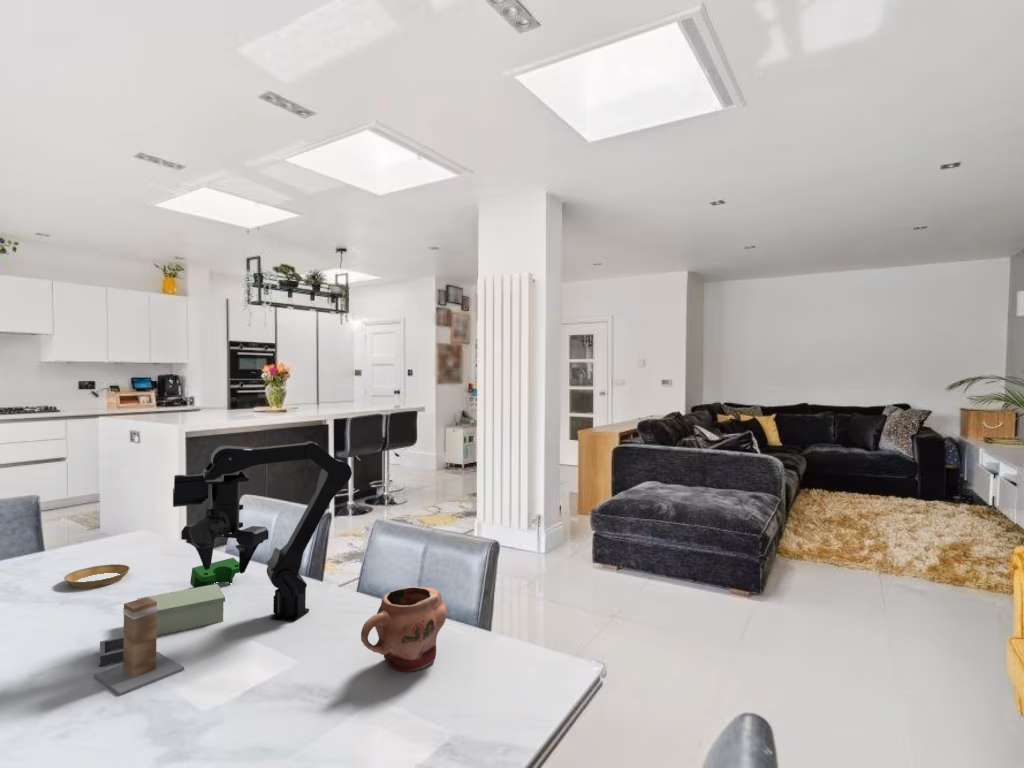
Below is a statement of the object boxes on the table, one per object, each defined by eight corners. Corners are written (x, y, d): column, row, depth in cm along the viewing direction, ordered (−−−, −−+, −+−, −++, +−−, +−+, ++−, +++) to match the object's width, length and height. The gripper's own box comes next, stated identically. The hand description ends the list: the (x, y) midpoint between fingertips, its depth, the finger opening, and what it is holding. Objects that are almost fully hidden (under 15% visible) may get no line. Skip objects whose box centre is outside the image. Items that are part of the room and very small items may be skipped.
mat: (157, 653, 115) (157, 651, 115) (184, 669, 109) (184, 667, 109) (94, 677, 106) (94, 674, 106) (119, 695, 99) (119, 692, 99)
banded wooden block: (146, 663, 110) (147, 596, 110) (156, 669, 108) (157, 601, 108) (122, 671, 107) (123, 603, 107) (132, 678, 104) (133, 608, 104)
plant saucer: (73, 576, 159) (73, 567, 159) (135, 570, 165) (135, 561, 165) (55, 594, 146) (55, 584, 146) (123, 587, 152) (123, 577, 152)
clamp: (206, 606, 150) (196, 582, 145) (195, 596, 153) (185, 571, 149) (248, 579, 158) (240, 554, 154) (237, 569, 161) (229, 545, 157)
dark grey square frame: (143, 641, 120) (143, 632, 120) (146, 655, 114) (146, 646, 114) (99, 651, 115) (99, 641, 115) (99, 666, 109) (99, 656, 109)
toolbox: (217, 606, 139) (217, 583, 139) (224, 621, 131) (225, 597, 130) (136, 622, 129) (136, 598, 129) (138, 640, 121) (139, 614, 121)
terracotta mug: (386, 697, 100) (387, 619, 100) (343, 675, 107) (344, 602, 107) (461, 654, 116) (461, 587, 116) (419, 637, 123) (420, 574, 123)
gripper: (161, 507, 121) (160, 579, 121) (236, 512, 117) (235, 587, 117) (200, 497, 132) (199, 563, 132) (270, 501, 128) (269, 570, 128)
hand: (224, 571), depth 127 cm, fingers open, 9 cm apart
